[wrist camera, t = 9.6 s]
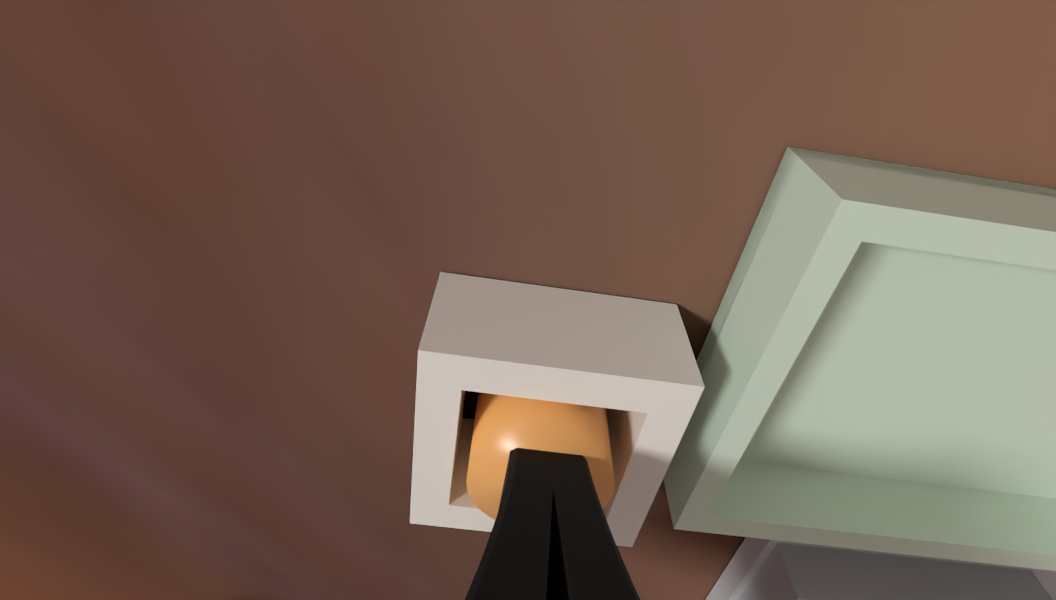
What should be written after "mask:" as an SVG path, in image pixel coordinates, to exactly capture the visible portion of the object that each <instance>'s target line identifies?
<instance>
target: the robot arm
mask: <svg viewBox="0 0 1056 600" xmlns="http://www.w3.org/2000/svg"><path fill="white" fill-rule="evenodd" d="M465 600H640V599H639V596H638V594H637V592H636V590H635V588H634V585H633V583H632V581H631V579H630V576H629V574H628V572H627V569H626V567H625V565H624V562H623V560H622V558H621V555H620V553H619V550H618V548H617V546H616V543H615V541H614V538H613V536H612V533H611V531H610V528H609V526H608V523H607V520H606V517H605V515H604V512H603V509H602V507H601V504H600V501H599V498H598V495H597V492H596V489H595V486H594V483H593V480H592V476H591V473H590V470H589V466H588V463H587V460H586V459H585V458H584V456H583V455H575V454H567V453H558V452H550V451H541V450H533V449H524V448H515V449H513V450H511V451H510V454H509V459H508V464H507V469H506V474H505V479H504V484H503V489H502V494H501V499H500V505H499V510H498V514H497V517H496V520H495V523H494V526H493V529H492V531H491V534H490V537H489V540H488V543H487V546H486V549H485V551H484V554H483V557H482V560H481V562H480V565H479V567H478V570H477V572H476V574H475V577H474V579H473V581H472V584H471V586H470V589H469V591H468V593H467V596H466V598H465Z"/></svg>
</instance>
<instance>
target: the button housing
mask: <svg viewBox="0 0 1056 600" xmlns="http://www.w3.org/2000/svg"><path fill="white" fill-rule="evenodd" d="M704 388H705V386H704V383H703V380H702V377H701V374H700V371H699V368H698V365H697V363H696V360H695V357H694V354H693V351H692V348H691V345H690V342H689V339H688V336H687V333H686V330H685V327H684V324H683V321H682V318H681V315H680V312H679V309H678V306H677V304H670V303H663V302H656V301H649V300H641V299H634V298H627V297H620V296H612V295H605V294H598V293H590V292H583V291H576V290H569V289H561V288H554V287H547V286H540V285H532V284H525V283H518V282H511V281H503V280H496V279H489V278H482V277H474V276H467V275H460V274H452V273H445V272H440V275H439V279H438V282H437V286H436V289H435V293H434V296H433V300H432V303H431V307H430V310H429V314H428V317H427V321H426V324H425V328H424V331H423V335H422V338H421V342H420V345H419V349H418V364H417V384H416V405H415V425H414V446H413V467H412V487H411V508H410V523H412V524H422V525H431V526H440V527H450V528H459V529H468V530H478V531H487V532H491V531H492V529H493V526H494V523H495V520H494V519H492V518H491V517H489V516H487V515H486V514H485V513H483V512H482V511H481V510H480V509H479V508H478V507H477V506H476V505H475V504H474V503H473V501H472V500H471V498H470V496H469V493H468V491H467V485H466V481H467V472H468V464H469V457H470V450H471V442H472V435H473V427H474V420H475V419H469V418H463V410H464V401H465V393H466V391H472V392H480V393H488V394H496V395H504V396H513V397H521V398H529V399H537V400H545V401H553V402H561V403H569V404H577V405H585V406H593V407H601V408H606V415H607V423H608V431H609V439H610V447H611V455H612V463H613V471H614V479H615V489H614V493H613V496H612V498H611V500H610V502H609V503H608V504H607V506H606V507H605V508H604V509H603V512H604V515H605V517H606V520H607V523H608V526H609V528H610V531H611V533H612V536H613V538H614V541H615V543H616V545H617V546H626V547H632V546H633V544H634V542H635V540H636V538H637V535H638V533H639V531H640V529H641V527H642V524H643V522H644V520H645V518H646V516H647V513H648V511H649V509H650V507H651V505H652V502H653V500H654V498H655V496H656V494H657V491H658V489H659V487H660V485H661V482H662V480H663V478H664V476H665V474H666V471H667V469H668V467H669V465H670V463H671V460H672V458H673V456H674V454H675V452H676V449H677V447H678V445H679V443H680V441H681V438H682V436H683V434H684V432H685V430H686V427H687V425H688V423H689V421H690V418H691V416H692V414H693V412H694V410H695V407H696V405H697V403H698V401H699V399H700V396H701V394H702V392H703V390H704Z"/></svg>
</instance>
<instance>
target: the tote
mask: <svg viewBox="0 0 1056 600" xmlns="http://www.w3.org/2000/svg"><path fill="white" fill-rule="evenodd" d="M696 363H697V365H698V368H699V371H700V374H701V377H702V380H703V383H704V386H705V388H704V390H703V392H702V394H701V396H700V399H699V401H698V403H697V405H696V407H695V410H694V412H693V414H692V416H691V418H690V421H689V423H688V425H687V427H686V430H685V432H684V434H683V436H682V438H681V441H680V443H679V445H678V447H677V449H676V452H675V454H674V456H673V458H672V460H671V463H670V465H669V467H668V469H667V471H666V474H665V476H664V478H663V481H664V485H665V490H666V495H667V500H668V504H669V509H670V514H671V519H672V523H673V528H674V529H678V530H687V531H696V532H705V533H714V534H723V535H732V536H741V537H750V538H759V539H768V540H777V541H786V542H796V543H805V544H814V545H823V546H832V547H841V548H850V549H859V550H868V551H877V552H886V553H895V554H904V555H913V556H923V557H932V558H941V559H950V560H959V561H968V562H977V563H986V564H995V565H1004V566H1013V567H1022V568H1031V569H1040V570H1050V571H1056V189H1052V188H1046V187H1039V186H1033V185H1027V184H1021V183H1014V182H1008V181H1002V180H995V179H989V178H983V177H977V176H970V175H964V174H958V173H951V172H945V171H939V170H933V169H926V168H920V167H914V166H907V165H901V164H895V163H889V162H882V161H876V160H870V159H863V158H857V157H851V156H845V155H838V154H832V153H826V152H820V151H813V150H807V149H801V148H794V147H787V149H786V151H785V154H784V156H783V158H782V161H781V163H780V165H779V168H778V170H777V172H776V175H775V177H774V179H773V182H772V184H771V187H770V189H769V191H768V194H767V196H766V198H765V201H764V203H763V205H762V208H761V210H760V212H759V215H758V217H757V219H756V222H755V224H754V226H753V229H752V231H751V234H750V236H749V238H748V241H747V243H746V245H745V248H744V250H743V252H742V255H741V257H740V259H739V262H738V264H737V266H736V269H735V271H734V273H733V276H732V278H731V281H730V283H729V285H728V288H727V290H726V292H725V295H724V297H723V299H722V302H721V304H720V306H719V309H718V311H717V313H716V316H715V318H714V320H713V323H712V325H711V327H710V330H709V332H708V335H707V337H706V339H705V342H704V344H703V346H702V349H701V351H700V353H699V356H698V358H697V360H696Z"/></svg>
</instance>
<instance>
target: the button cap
mask: <svg viewBox="0 0 1056 600" xmlns="http://www.w3.org/2000/svg"><path fill="white" fill-rule="evenodd" d="M515 448H524V449H533V450H541V451H550V452H558V453H567V454H575V455H583V456H584V458H585V459H586V460H587V463H588V466H589V470H590V473H591V476H592V480H593V483H594V486H595V489H596V492H597V495H598V498H599V501H600V504H601V507H602V509H604V508H605V507H606V506H607V504H608V503H609V502H610V500H611V498H612V496H613V493H614V489H615V479H614V471H613V463H612V455H611V447H610V439H609V431H608V423H607V415H606V408H601V407H593V406H585V405H577V404H569V403H561V402H553V401H545V400H537V399H529V398H521V397H513V396H504V395H496V394H488V393H480V392H478V398H477V405H476V413H475V420H474V427H473V435H472V442H471V450H470V457H469V464H468V472H467V481H466V485H467V491H468V493H469V496H470V498H471V500H472V501H473V503H474V504H475V505H476V506H477V507H478V508H479V509H480V510H481V511H482V512H483V513H485V514H486V515H487V516H489V517H491V518H492V519H494V520H496V517H497V514H498V510H499V505H500V499H501V494H502V489H503V484H504V479H505V474H506V469H507V464H508V459H509V454H510V451H511V450H513V449H515Z"/></svg>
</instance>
